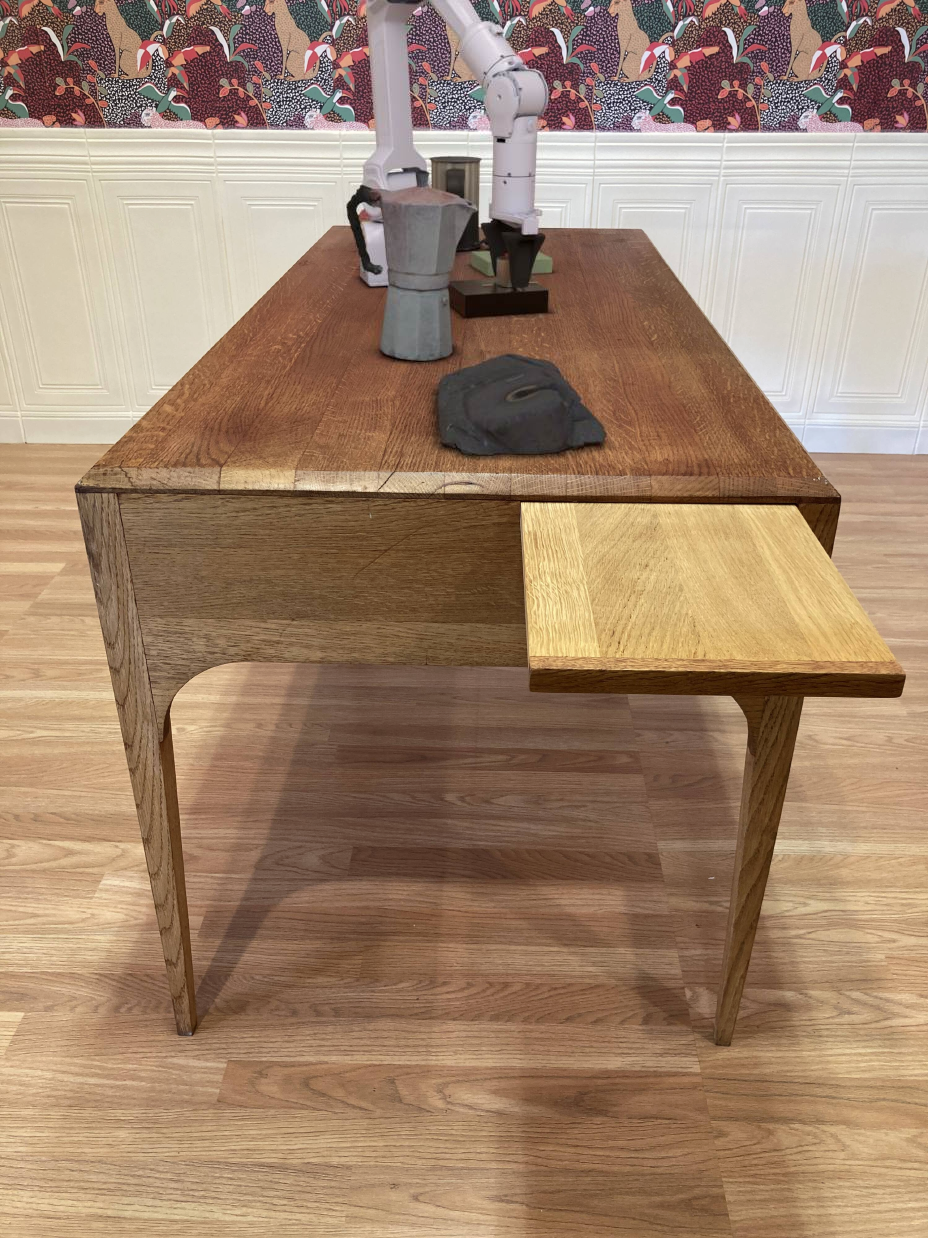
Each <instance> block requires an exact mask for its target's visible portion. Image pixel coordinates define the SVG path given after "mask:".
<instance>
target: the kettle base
mask: <svg viewBox="0 0 928 1238" xmlns="http://www.w3.org/2000/svg"><path fill="white" fill-rule="evenodd" d="M553 261H554V259H553V257H550V256H549V255H546V254H545V253H542V252H540V251H539V252H538V254H537V256H536V259H535V262H534V265H533V269H532V273H531V275H532V274H533V275H534V274H536V275H537V274H549V273H551V274H552V273H553V265H554V264H553V263H554V262H553ZM471 266H472V268H475V269H476V270H478V271H480V272H481V273H482V274H484V275H486V276H487V277H495V276H494V272H493V268H492V262H491V256H490V251H489V250H483V251H482V250H481V251H471Z"/></svg>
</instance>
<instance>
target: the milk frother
mask: <svg viewBox="0 0 928 1238" xmlns="http://www.w3.org/2000/svg"><path fill="white" fill-rule="evenodd" d="M429 160H430V163H431V164H430V167H431V170H430V171H431V175H430V176H431V178H430V179H431V180H430V182H431V186H432V188H434V189H437V190H441V191H444V192H448V193H451V194H455V195H458V196H459V197H460V198H463V199H466V200H469V201H471V202H472V204H474V205H476V207H477V209H478V211H475V212H474V213H473V214H472V215H471V217H470V219H469V221H468V223H467V226H466V228H465V230H464V232H463V234H462V237H461V239H460V240H459V242H458V244H457V247H456V251H471V250H475V249H479V248H480V247H482V246H481V245H483V244H484V245H485V246H487V247H488V243H487V240H486V237H484V238H483V239H481V240H480V179H481V178H480V176H481V175H480V170H481V168H480V167H481V161H482V158H481V157H477V156H464V155H458V156H457V155H455V156H451V155H447V156H446V155H445V156H444V155H443V156H433V157H429Z"/></svg>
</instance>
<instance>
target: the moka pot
mask: <svg viewBox="0 0 928 1238" xmlns="http://www.w3.org/2000/svg"><path fill="white" fill-rule="evenodd" d="M415 174H416V183H417V186H415V187H410V188H405V189H400V190H395V191H389V190H385V189H372V188H370V187H367V186H365V185H362V184H360V185H359V188H357V189H356V191H355V194H352V195H351V197H350V200H349V201H347V203H346V205H345V207H346V216H347V220H348V223H349V225H350V226H349V227H350V229H351V231H352V234H353V238H354V240H355V245H356V248H357V251H358V256H359V258H360V257H361V262H362V266H363V269H364V270H365V271H367V272H371V273H373V274H381V273H382V271H383V268H382V266H380V265H374V264H372V263H371V261H370V257H369V254H368V252H367V250H366V243H365V237H364V235H363V231H362V228H361V222H360V220H359V216H358V215H359V213H358V210H357V209H358V207H359V205H360V204H362V203H363V202H365V203H367V204H368V205H370V206H372V207H379V208H380V209H381V212H382V218H383V228H384V238H385V249H386V261H387V266H388V270H387V274H388V283H389V285H388V286H387V290H386V298H385V302H384V303H385V304H384V312H383V319H382V326H381V327H382V328H381V332H380V342H379V350H380V351H381V352H382V353H383V354H385V355H387V356H390V357H392V358H396V359H400V360H407V361H417V362H418V361H419V362H421V361H422V362H424V361H438V360H441V359H444V358H447V357H449V356H450V355H451V354H452V353H453V339H452V338H453V337H452V324H451V308H450V307H451V306H450V305H449V292H448V288H447V286H448V285H449V282H450V281H451V271H453V269H454V264H455V257H456V252H457V250H456V247H457V244H458V242H459V240H460V239H461V237H462V234H463V232H464V230H465V228H466V226H467V223H468V221H469V219H470V217H471V215H472V214H473V213H474V212H475V211H478V209H477V207H476V205H474V204H472V202H471V201H469V200H466V199H463V198H460V197H459V196H458V195H455V194H451V193H448V192H444V191H441V190H437V189H434V188H430V187H427V182H428V178H429V179H430V172H429V171H428V170H427V171H424V170H420V171H416V172H415Z"/></svg>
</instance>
